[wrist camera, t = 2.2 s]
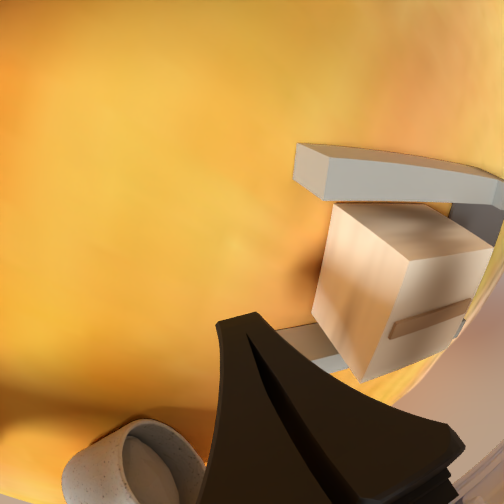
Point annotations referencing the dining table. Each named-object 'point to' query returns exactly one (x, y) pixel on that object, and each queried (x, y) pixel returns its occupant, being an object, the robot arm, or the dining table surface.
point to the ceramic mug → (135, 468)
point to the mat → (479, 220)
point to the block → (395, 284)
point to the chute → (380, 189)
